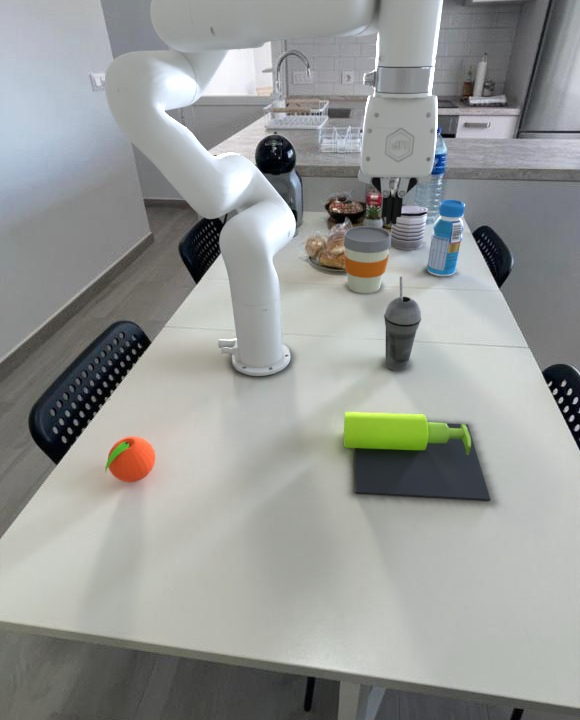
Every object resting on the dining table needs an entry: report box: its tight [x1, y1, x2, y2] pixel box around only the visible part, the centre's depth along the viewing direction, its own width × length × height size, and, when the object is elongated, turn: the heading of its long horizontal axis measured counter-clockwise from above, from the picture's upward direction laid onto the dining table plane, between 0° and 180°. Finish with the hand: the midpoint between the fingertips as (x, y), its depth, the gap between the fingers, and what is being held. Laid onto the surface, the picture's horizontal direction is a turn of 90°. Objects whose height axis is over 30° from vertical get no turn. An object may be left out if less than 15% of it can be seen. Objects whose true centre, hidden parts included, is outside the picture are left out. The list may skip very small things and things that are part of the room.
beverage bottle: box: [426, 199, 466, 277], centre depth 127 cm, size 8×8×20 cm
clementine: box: [105, 435, 156, 483], centre depth 69 cm, size 8×7×7 cm
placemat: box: [354, 422, 491, 502], centre depth 73 cm, size 20×16×1 cm
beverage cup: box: [383, 276, 422, 371], centre depth 89 cm, size 7×7×20 cm
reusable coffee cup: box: [342, 225, 392, 294], centre depth 121 cm, size 12×13×15 cm
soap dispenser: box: [343, 411, 471, 455], centre depth 73 cm, size 6×7×20 cm
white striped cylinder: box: [390, 205, 429, 251], centre depth 147 cm, size 11×11×12 cm
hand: (390, 221), depth 69 cm, fingers closed
